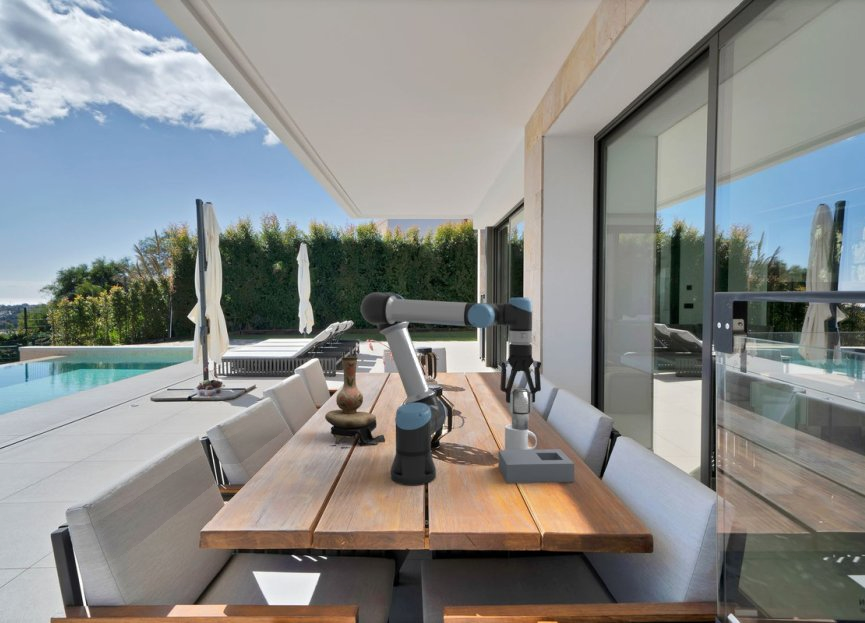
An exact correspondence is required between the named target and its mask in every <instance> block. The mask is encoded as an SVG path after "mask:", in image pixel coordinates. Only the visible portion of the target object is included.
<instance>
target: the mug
mask: <svg viewBox="0 0 865 623" xmlns="http://www.w3.org/2000/svg"><path fill="white" fill-rule="evenodd" d="M529 436H531V437H533V438H534V439H535V443H534V445H533V446H529ZM537 443H538V439H537V436H536V434H535V433H534V432H532V431H531V430H529V429H527V430H516V429H513V428H512V423H511V424H509V423H508V424H506V425H505V426H504V450H536V448H537Z"/></svg>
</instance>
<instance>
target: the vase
mask: <svg viewBox="0 0 865 623" xmlns="http://www.w3.org/2000/svg"><path fill="white" fill-rule="evenodd" d="M358 357H359V356H341V361H342V369H343V385H342V388H341V390H340V391H339V392H338V393H337V395H336V400H335V402H336V405H337V407H338V408H339V409H334V410H330V411H328V412H326V414H325V416H324V419H325V420H326V422H327V423H329V424H330V425H331V427H330V434H331V435H333V437H336V438H335V444H332V445H329V447H337V445H339V444H340V441H339V440H340V439H343V440H344V439H345V438H348V439H350V438H354V439H355V441H356V442H357V445H358V446H363V445H366V444H373V445H376V446H378V444H380V442H381V441H382V442H383V443H385V442H386V439H385V436H384V434H380V435H376V436H375V437H374V436H373V434H372V432H374V430H376V428H377V417H376V415H375V414H373V413H370V412H367V411H357V410H358V409H360V407H361V406H362V405H363V402H364V394H363V393H362V391H361V390H359V388H358V386H357V383H356V382H357V381H356V380H357V379H356V376H357V375H356V373H357V366H358V365H357V363H358ZM357 435H358V439H359V440H358V439H356V436H357ZM346 448H348V449H349V448H350V447H349V446H348V447H347V446H342V447H340V449H346Z"/></svg>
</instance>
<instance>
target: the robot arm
mask: <svg viewBox="0 0 865 623" xmlns="http://www.w3.org/2000/svg"><path fill="white" fill-rule="evenodd" d="M532 303H533V301H532V299H531V298H529V297H510V298H509V301H508V302H507V303H494V302H493V303H490V302H489V303H487V302H486V303H485V302H479V303H477V302H464V301H462V302H461V301H440V300H424V299H422V300H421V299H406V298H404V297H403V296H401V295H400V294H398V293H395V292H392V291H391V292H390V291H388V292H381V291H375V292H371V293H369V294H367V295H366V296H364V298H363V300H362V301H361V304H360V314H361V316H362V318H363V319H364V321H366V322H367V323H369V324H371V325H375V326H377V329H378V332H379V333H380V334H381V335H384V337H385V339H386V341H387V342H386V343H388V346H389V350H390V353H391V355H392V359H393V361H394V364H395V366H396V369H397V372H398V375H399V378H400V380H401V383H402V386H403V389H404V391H405V394H406V397H407V398H406V400H405V402H404V404H401V406H399V407H397V409H396V411H395V419H394V420H395V422H394V423H395V455H394V459H393V461H392V464H391V467H390V479H391V480H392V481H393V482H395V483H396V484H400V485H403V486H405V485H406V486H420V485H425V484H428V483H431V482H433V481H434V480H435V479H436V477H437V468H436V465H435V462H434V459H433V456H432V453H431V452H432V450H431V448H432V447H431V446H432V444H431V442H432V437H431V436H432V435H434V434H435V433H436V432H438V431H439V430H441V428H442V427H443V425H444V424H445V422H446V421H447V420H446V419H447V409H446V406H445V404H444V403H443V402H442V400H439V399H438V396H437V394H436V392H435V391H434V390H432V389H431V388H430V387H429V384H428V381H427V379H426V376H425V373H424V371H423V368H422V365H421V362H420V359H419V356H418V353H417V352H416V349H415V345H414V343H413V340H412V337H411V336H410V333H409V330H408V326H409V324H410V323H416V324H417V323H418V324H429V325H430V324H433V325H445V326H447V325H448V326H459V327H460V326H461V327H473V328H474V327H475V328H477V329H485V328H488V327H491V326H508V327H509V333H508V337H509V338H508V341H509V343H510V344H509V345H508V346H509V347H508V349H509V350H508V358H507V359H506V360H504V361H502V360H501V361H500V362H499V364H500V368H501V369H500V370H501V371H500V387H499V389H500V391H502V392H503V393H505V402H506V404H507V403H508V413H510V414H512V413H513V394H512V390H513V389H512V388H513V386H514V382H515V379H516V376H517V374H518V372H524V375H525V378H526V380H527V381H526V382H527V384H528V388H529V414H533V403H536V394H537V392H541V390H542V388H541V387H542V386H541V383H542V382H541V366H542V362H541V361H538V360H534V359H533V358H534V357H533V345H532V342H533V304H532ZM508 365H509V366H510V368H511V370H510V374H509V377H508V380H507V368H508ZM531 366H533V369H534V370H533V372H534V381H533V378H532V375H531V371H530V368H531ZM507 381H508V382H507ZM506 383H507V384H506Z"/></svg>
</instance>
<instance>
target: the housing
mask: <svg viewBox="0 0 865 623" xmlns="http://www.w3.org/2000/svg"><path fill="white" fill-rule="evenodd" d="M497 455H498V464H497V466H498V469H499V471H500V473H501V475H502V477H503V479H504V480H505V482H506V484H537V483H540V484H541V483H542V484H543V483H574V482H575V463H574V461H572V460H571V459H570V457H568V455H566V453H564V452H563V450H561V449H558V448H554V449H553V448H552V449H549V448H547V449H546V448H545V449H534V450H505V449H499V450H498V454H497Z"/></svg>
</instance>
